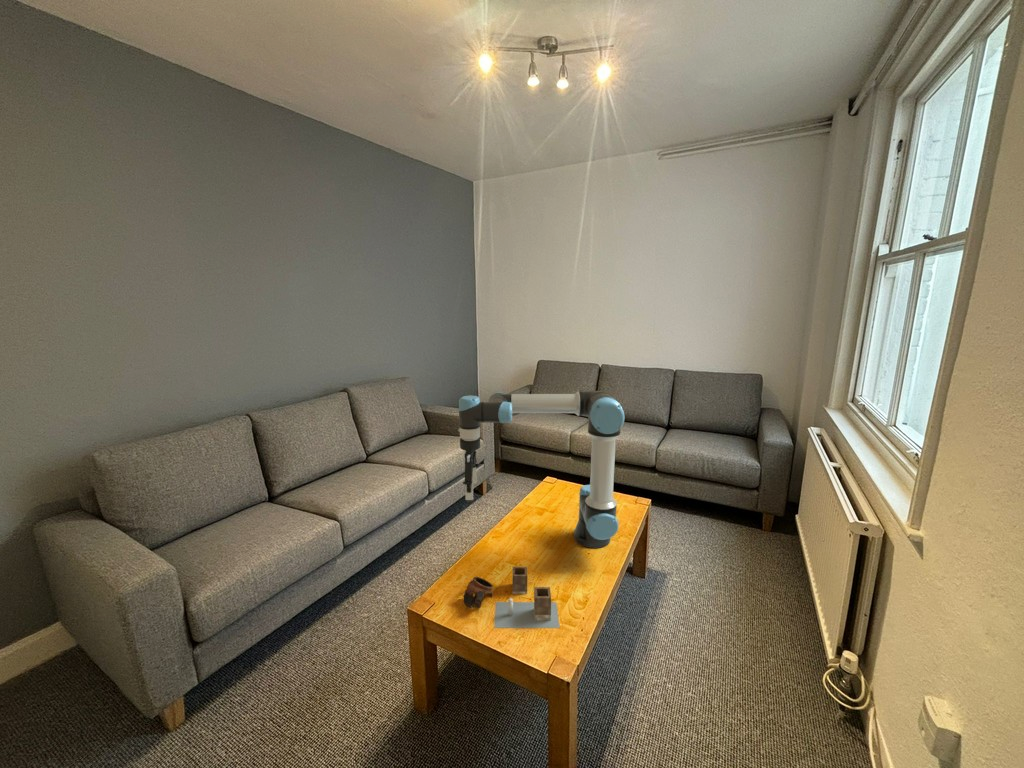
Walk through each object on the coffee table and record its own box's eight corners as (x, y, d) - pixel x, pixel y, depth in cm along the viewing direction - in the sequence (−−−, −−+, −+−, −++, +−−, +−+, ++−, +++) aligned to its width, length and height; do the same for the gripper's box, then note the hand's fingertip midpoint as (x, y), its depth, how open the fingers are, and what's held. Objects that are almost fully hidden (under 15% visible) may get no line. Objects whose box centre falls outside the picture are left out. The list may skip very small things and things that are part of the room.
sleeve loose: (526, 586, 147) (526, 566, 146) (527, 596, 142) (527, 576, 141) (512, 586, 147) (512, 566, 146) (512, 596, 142) (512, 576, 141)
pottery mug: (459, 595, 144) (469, 572, 145) (484, 604, 145) (493, 581, 147) (462, 612, 132) (473, 586, 133) (489, 621, 134) (500, 596, 135)
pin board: (556, 605, 138) (556, 587, 137) (559, 631, 128) (560, 611, 126) (495, 605, 138) (495, 586, 137) (494, 631, 128) (494, 611, 126)
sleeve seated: (549, 608, 135) (549, 587, 134) (550, 620, 130) (551, 598, 129) (534, 608, 135) (534, 587, 134) (534, 620, 130) (535, 598, 129)
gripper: (463, 427, 166) (465, 477, 171) (455, 449, 142) (456, 507, 146) (482, 427, 166) (483, 477, 171) (477, 449, 142) (478, 507, 146)
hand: (471, 491), depth 158 cm, fingers open, 13 cm apart
